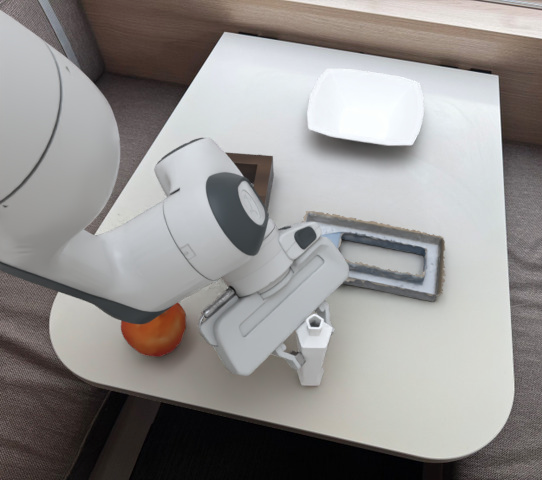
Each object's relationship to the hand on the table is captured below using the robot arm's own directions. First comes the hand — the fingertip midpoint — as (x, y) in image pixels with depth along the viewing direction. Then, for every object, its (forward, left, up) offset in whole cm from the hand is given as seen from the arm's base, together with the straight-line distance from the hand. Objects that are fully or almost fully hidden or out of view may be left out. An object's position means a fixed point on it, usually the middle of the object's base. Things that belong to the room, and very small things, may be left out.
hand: (314, 349), depth 67 cm
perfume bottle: (0, +1, -9) cm, 9 cm away
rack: (+13, +31, -10) cm, 35 cm away
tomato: (-10, +22, -10) cm, 26 cm away
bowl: (+49, +29, -10) cm, 58 cm away
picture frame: (+22, +7, -10) cm, 25 cm away
